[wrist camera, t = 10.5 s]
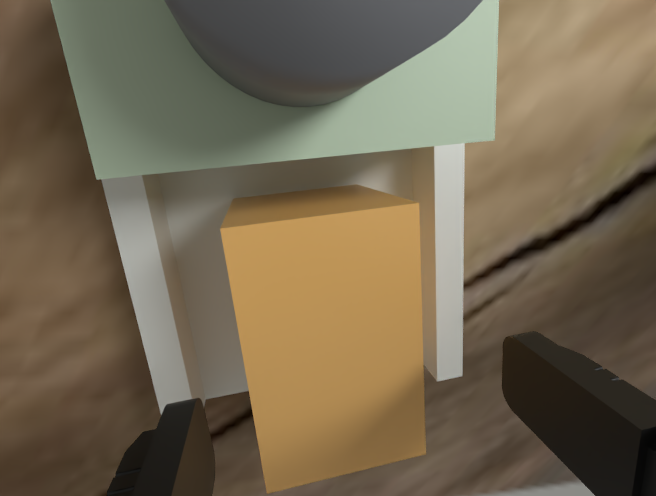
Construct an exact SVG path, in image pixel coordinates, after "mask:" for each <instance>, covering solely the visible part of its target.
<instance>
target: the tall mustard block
mask: <svg viewBox="0 0 656 496" xmlns="http://www.w3.org/2000/svg"><path fill="white" fill-rule="evenodd" d="M220 231H221V237H222V242H223V248H224V254H225V259H226V265H227V271H228V276H229V282H230V288H231V293H232V299H233V305H234V310H235V316H236V321H237V327H238V333H239V338H240V344H241V350H242V355H243V361H244V367H245V372H246V378H247V384H248V389H249V395H250V401H251V406H252V412H253V418H254V423H255V429H256V435H257V440H258V446H259V451H260V457H261V463H262V468H263V474H264V480H265V485H266V491H267V494H269V493H273V492H277V491H281V490H285V489H289V488H293V487H297V486H301V485H305V484H309V483H313V482H317V481H321V480H325V479H329V478H333V477H337V476H341V475H345V474H349V473H353V472H357V471H361V470H365V469H369V468H373V467H377V466H381V465H385V464H389V463H393V462H397V461H401V460H405V459H409V458H413V457H417V456H421V455H425V454H426V437H425V400H424V363H423V326H422V288H421V251H420V214H419V203H418V202H414V201H411V200H408V199H404V198H401V197H398V196H394V195H391V194H388V193H384V192H381V191H378V190H374V189H371V188H368V187H364V186H361V185H358V184H354V185H345V186H337V187H328V188H319V189H311V190H302V191H294V192H285V193H277V194H268V195H259V196H251V197H242V198H234V199H233V200H232V202H231V205H230V207H229V209H228V212H227V214H226V216H225V219H224V221H223V223H222V225H221V228H220Z"/></svg>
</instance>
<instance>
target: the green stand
mask: <svg viewBox="0 0 656 496" xmlns="http://www.w3.org/2000/svg"><path fill="white" fill-rule="evenodd" d="M50 1H51V5H52V9H53V13H54V17H55V20H56V24H57V28H58V32H59V36H60V40H61V44H62V48H63V52H64V55H65V59H66V63H67V67H68V71H69V75H70V79H71V83H72V87H73V90H74V94H75V98H76V102H77V106H78V110H79V114H80V118H81V122H82V125H83V129H84V133H85V137H86V141H87V145H88V149H89V153H90V157H91V160H92V164H93V168H94V172H95V176H96V180H99V179H101V180H102V184H103V188H104V192H105V196H106V200H107V204H108V208H109V212H110V216H111V220H112V224H113V227H114V231H115V235H116V239H117V243H118V247H119V251H120V255H121V259H122V263H123V267H124V271H125V275H126V279H127V283H128V287H129V291H130V294H131V298H132V302H133V306H134V310H135V314H136V318H137V322H138V326H139V330H140V334H141V338H142V342H143V346H144V350H145V354H146V358H147V361H148V365H149V369H150V373H151V377H152V381H153V385H154V389H155V393H156V397H157V401H158V405H159V409H160V413H161V415H162V413H163V410H164V408H165V406H166V405H167V404H169V403H174V402H179V401H184V400H189V399H194V398H200V399H201V400H202V403H203V406H205V401H206V399H210V398H215V397H220V396H225V395H230V394H235V393H240V392H245V391H249V389H248V384H247V378H246V372H245V367H244V361H243V355H242V350H241V344H240V338H239V333H238V327H237V321H236V316H235V310H234V305H233V299H232V293H231V288H230V282H229V276H228V271H227V265H226V259H225V254H224V248H223V242H222V237H221V231H220V228H221V225H222V223H223V221H224V219H225V216H226V214H227V212H228V209H229V207H230V205H231V202H232V200H233V199H234V198H242V197H251V196H259V195H268V194H277V193H285V192H294V191H302V190H311V189H319V188H328V187H337V186H345V185H354V184H358V185H361V186H364V187H368V188H371V189H374V190H378V191H381V192H384V193H388V194H391V195H394V196H398V197H401V198H404V199H408V200H411V201H414V202H418V203H419V214H420V251H421V288H422V326H423V363H424V366H425V367H426V368H427V369H428V371H429V372H430V373H431V374H432V376H433V377H434V378H435V379H436V381H442V380H447V379H451V378H456V377H461V376H462V373H463V258H464V143H471V142H482V141H492V140H495V115H496V81H497V48H498V15H499V0H50Z"/></svg>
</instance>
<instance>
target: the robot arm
mask: <svg viewBox="0 0 656 496" xmlns="http://www.w3.org/2000/svg"><path fill="white" fill-rule="evenodd" d="M502 390H503V394H504V397H505V399H506V402H507V404H508V405H509V407H510V408H511V409H512V411H513V412H514V413H515V414H516V415H517V416H518V417H519V418H520V419H521V420H522V421H523V422H524V423H525V424H526V425H527V426H528V427H529V428H530V429H531V430H532V431H533V432H534V433H535V434H536V435H537V436H538V437H539V438H540V439H541V440H542V441H543V442H544V444H545V445H546V446H547V447H548V448H549V449H550V450H551V451H552V452H553V453H554V454H555V455H556V456H557V457H558V458H559V459H560V460H561V461H562V462H563V463H564V464H565V465H566V466H567V467H568V468H569V469H570V470H571V471H572V472H573V473H574V474H575V475H576V476H577V477H578V478H579V479H580V480H581V481H582V482H583V483H584V485H585V486H586V487H587V488H588V489H589V490H590V491H591V492H592V493H593V494H594V495H595V496H656V400H654V399H653V398H651V397H650V396H648V395H646V394H645V393H643V392H642V391H640V390H638V389H637V388H635V387H634V386H632V385H630V384H629V383H627V382H626V381H624V380H619V378H618V376H616V375H614V374H613V373H611V372H610V371H608V370H607V369H604V370H603V368H602V366H600V365H599V364H597V363H595V362H594V361H592V360H591V359H589V358H587V357H586V356H584V355H582V354H580V353H577V352H575V351H572V350H569V349H567V348H564V347H561V346H558V345H557V344H555V343H554V342H552V341H551V340H549V339H548V338H546V337H544V336H543V335H541V334H540V333H538V332H534V331H533V332H528V333H523V334H518V335H513V336H508V337H506V338H505V340H504V342H503V365H502ZM214 480H215V456H214V449H213V445H212V440H211V436H210V432H209V428H208V423H207V419H206V415H205V411H204V406H203V403H202V400H201V399H200V398H194V399H189V400H184V401H179V402H174V403H169V404H167V405H166V406H165V408H164V410H163V413H162V415H161V418H160V420H159V423H158V426H157V428H156V429H155V430H150V431H145V432H143V433H142V434H141V435H140V436H139V437H138V438H137V439H136V440H135V442H134V443H133V444H132V445H131V446H130V447H129V448H128V449H127V451H126V452H125V454H124V456H123V458H122V460H121V463H120V465H119V467H118V469H117V471H116V477H115V478H113V480H112V482H111V485H110V487H109V489H108V491H107V496H212V494H213V487H214Z"/></svg>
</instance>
